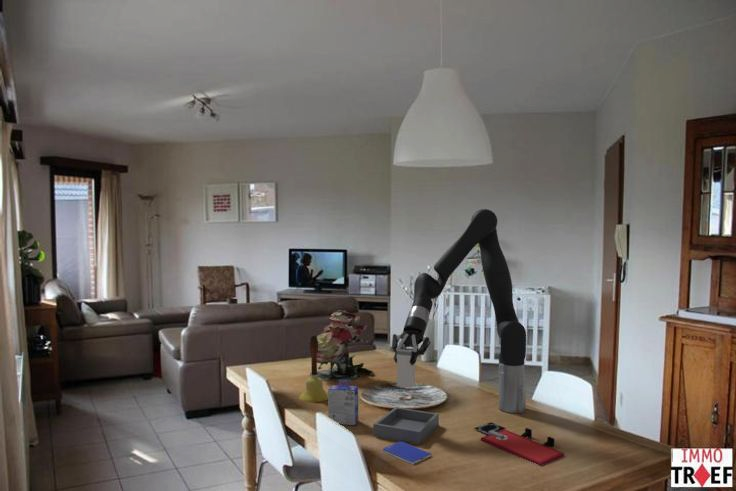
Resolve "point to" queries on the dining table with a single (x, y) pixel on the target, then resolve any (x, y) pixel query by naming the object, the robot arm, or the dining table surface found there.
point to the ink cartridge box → (343, 403)
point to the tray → (406, 425)
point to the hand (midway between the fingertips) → (403, 362)
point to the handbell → (314, 378)
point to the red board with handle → (520, 444)
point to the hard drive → (406, 452)
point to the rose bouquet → (339, 347)
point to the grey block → (405, 368)
